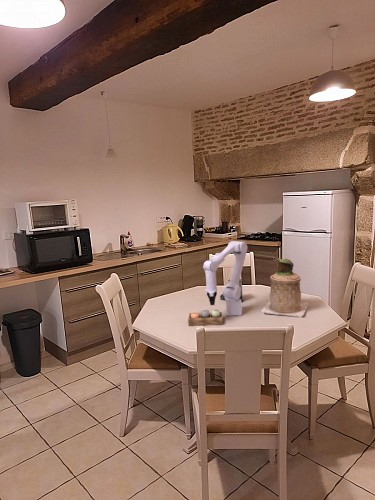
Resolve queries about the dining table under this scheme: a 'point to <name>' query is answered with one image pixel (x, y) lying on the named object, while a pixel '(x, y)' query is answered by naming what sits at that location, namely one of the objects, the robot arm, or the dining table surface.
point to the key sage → (215, 313)
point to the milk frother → (234, 288)
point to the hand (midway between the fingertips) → (212, 304)
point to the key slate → (205, 314)
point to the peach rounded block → (194, 315)
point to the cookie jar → (285, 292)
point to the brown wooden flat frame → (205, 320)
